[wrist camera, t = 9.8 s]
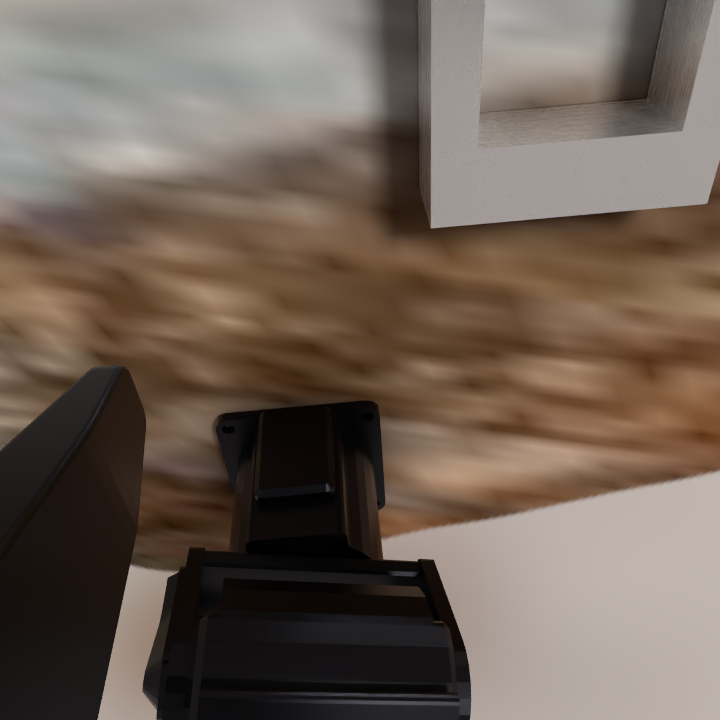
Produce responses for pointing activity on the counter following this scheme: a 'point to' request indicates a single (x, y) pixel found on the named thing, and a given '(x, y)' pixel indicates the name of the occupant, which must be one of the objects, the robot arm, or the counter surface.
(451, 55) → the rail bar
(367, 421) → the robot arm
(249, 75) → the counter surface
